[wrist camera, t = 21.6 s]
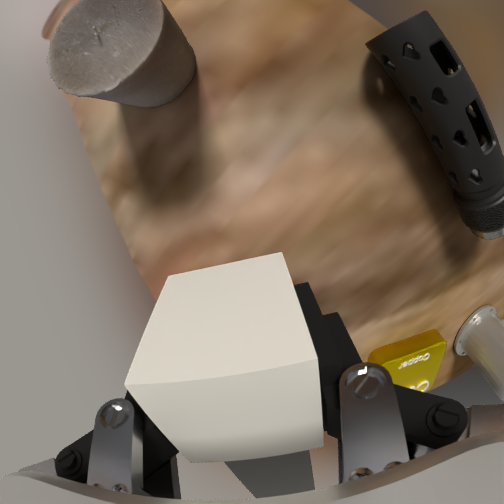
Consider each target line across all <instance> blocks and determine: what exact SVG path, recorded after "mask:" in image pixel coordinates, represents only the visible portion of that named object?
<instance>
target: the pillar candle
mask: <svg viewBox="0 0 504 504" xmlns="http://www.w3.org/2000/svg"><path fill="white" fill-rule="evenodd" d="M47 64H48V73H49V75H51V78H52V79H53V81H54V82H55V83H56V85H57V87H58V89H60V88H61V89H62V90H63V91H64V92H65V93H67V94H72V95H76V96H78V97H81V96H83V97H92V98H97V99H103V100H108V101H113V102H118V103H122V104H128V105H132V106H137V107H145V108H149V107H156V106H161V105H164V104H166V103H168V102H171V101H172V100H174V99H175V98H176V97H178V96H179V95H180V94H181V93H182V92H183V91H184V90H185V89H186V87H187V86H188V84H189V83H190V82H191V80H192V77H193V75H194V72H195V66H196V59H195V54H194V51H193V49H192V47H191V46H190V45H189V43H188V41H187V39H186V37H185V36H184V34H183V32H182V30H181V29H180V27H179V26H178V24H177V23H176V21H175V20H174V18H173V17H172V15H171V13H170V12H169V10H168V9H167V7H166V6H165V4H164V3H163V2H162V0H80V1H78V2H77V3H76V4H75V5H74V6H73V7H72V8H71V9H70V10H69V11H68V12H67V13H66V14H65V16H64V17H63V19H62V20H61V22H60V23H59V25H58V27H57V28H56V30H55V33H54V35H53V37H52V40H51V42H50V47H49V52H48V56H47Z"/></svg>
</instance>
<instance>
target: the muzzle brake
mask: <svg viewBox="0 0 504 504" xmlns="http://www.w3.org/2000/svg"><path fill="white" fill-rule="evenodd" d="M407 44H409V45H411V46H412V48H413V49H411V48H408V47H407ZM365 45H366V46H367V48H368V49H369V50H370V51H371V52H372V54H373V55H374V56H375V58H376V59H377V60H378V61H379V63H380V64H381V65H382V67H383V68H384V69H385V71H386V72H387V73H388V75H389V76H390V78H391V79H392V80H393V82H394V83H395V85H396V86H397V88H398V89H399V91H400V92H401V94H402V95H403V97H404V98H405V100H406V101H407V103H408V104H409V106H410V108H411V109H412V111H413V113H414V114H415V116H416V118H417V119H418V121H419V123H420V124H421V126H422V128H423V130H424V132H425V133H426V135H427V137H428V139H429V141H430V143H431V145H432V147H433V149H434V151H435V153H436V155H437V157H438V159H439V161H440V163H441V165H442V167H443V169H444V171H445V174H446V176H447V178H448V180H449V183H450V184H451V186H452V187H453V188H454V200H455V202H456V205H457V207H458V210H459V213H460V215H461V218H462V220H463V222H464V223H465V225H466V226H468V227H469V228H470V230H471V231H472V233H473V234H474V235H476V236H477V237H479V238H482V239H496V238H499V237H502V236H504V156H503V154H502V151H501V148H500V145H499V141H498V138H497V136H496V133H495V130H494V128H493V125H492V123H491V120H490V119H489V116H488V114H487V112H486V109H485V107H484V104H483V102H482V100H481V98H480V95H479V93H478V91H477V89H476V87H475V85H474V83H473V82H472V80H471V78H470V76H469V75H468V73H467V71H466V69H465V67H464V65H463V63H462V61H461V60H460V58H459V56H458V55H457V53H456V51H455V50H454V48H453V47H452V45H451V44H450V42H449V41H448V40H447V38H446V37H445V35H444V34H443V32H442V31H441V29H440V28H439V27H438V25H437V23H436V22H435V21H434V19H433V18H432V17H431V15H430V14H429V13H428V11H426V10H425V11H423V12H421V13H419V14H417V15H415V16H413V17H411V18H409V19H407V20H405V21H403V22H401V23H400V24H398V25H396V26H394V27H392V28H391V29H389V30H387V31H385V32H383V33H382V34H380V35H378V36H377V37H375V38H373V39H372V40H370V41H368V42H367V43H365ZM451 69H452V70H453V72H454V73H453V74H451V73H450V72H451ZM469 105H471V106H472V108H473V110H471V109H470V108H469Z"/></svg>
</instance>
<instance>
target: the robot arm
mask: <svg viewBox="0 0 504 504" xmlns="http://www.w3.org/2000/svg"><path fill="white" fill-rule="evenodd" d="M293 286H294V289H295V292H296V295H297V298H298V300H299V303H300V306H301V309H302V312H303V315H304V318H305V321H306V324H307V327H308V330H309V333H310V336H311V339H312V342H313V345H314V348H315V352H316V355H317V358H318V367H319V378H320V391H321V405H322V420H323V428H324V431H327V433H328V435H331V436H333V437H335V438H337V439H338V459H339V460H338V461H339V484H338V485H334V486H330V487H326V488H321V489H317V490H311V491H306V492H301V493H295V494H289V495H282V496H274V497H265V498H255V499H244V500H243V499H242V500H213V501H212V500H209V501H208V500H206V501H205V500H181V493H180V485H179V477H178V467H177V458H176V454H177V453H179V450H178V449H177V448H176V447H175V446H174V445H173V444H172V443H171V442H170V441H169V440H168V438H167V437H166V436H165V435H164V434H163V433H162V432H161V431H160V429H159V428H158V427H157V426H156V425H155V424H154V423H153V421H152V420H151V419H150V418H149V417H148V415H147V414H146V413H145V412H144V410H143V409H142V408H141V407H140V405H139V404H138V403H137V402H136V400H135V399H134V398H133V396H132V395H131V394H130V392H129V391H128V390H127V393H126V396H125V399H123V398H117V399H113V400H110V401H108V402H107V403H105V404H104V405H103V406H102V407H101V408H100V409H99V411H98V412H97V415H96V419H95V425H94V430H92V431H91V432H89V433H88V434H86V435H85V436H83V437H81V438H80V439H78V440H77V441H75V442H74V443H72V444H71V445H69V446H68V447H66V448H64V449H63V450H62V451H61V452H60V453H59V454H58V456H57V458H56V459H55V458H52V459H49V460H46V461H43V462H40V463H37V464H34V465H31V466H28V467H25V468H22V469H21V470H19V472H15V473H11V474H8V475H6V476H4V477H3V478H2V479H1V480H0V504H504V404H477V405H476V404H475V405H474V404H472V405H471V407H470V408H466V407H464V406H463V405H462V404H460V403H459V402H457V401H455V400H453V399H449V398H444V397H440V396H437V395H433V394H429V393H425V392H422V391H418V390H414V389H411V388H407V387H404V386H400V385H397V384H393V381H392V377H391V375H390V373H389V371H388V370H387V369H386V368H385V367H383V366H381V365H379V364H376V363H371V362H365V363H363V362H362V360H361V358H360V356H359V354H358V352H357V350H356V348H355V346H354V344H353V342H352V340H351V338H350V336H349V334H348V332H347V330H346V328H345V326H344V324H343V322H342V320H341V318H340V316H339V314H338V313H337V312H335V313H331V314H327V315H322V313H321V311H320V308H319V306H318V304H317V301H316V299H315V297H314V294H313V292H312V290H311V288H310V285H309V283H308V282H306V283H301V284H297V285H293ZM454 349H455V351H456V353H457V354H458V355H461V356H463V355H468V356H469V357H470V359H471V360H472V361H473V362H474V364H475V365H476V366H477V368H478V369H479V370H480V372H481V373H482V374H483V375H484V377H485V378H486V380H487V381H488V382H489V384H490V385H491V386H492V388H493V389H494V391H495V392H496V393H497V395H498V396H499V398H500V399H501V400H502V401H504V318H502V319H501V320H500V319H499V318H498V317H497V312H496V309H495V308H494V307H493V306H491V305H485V306H482V307H480V308H479V309H477V310H476V311H475V312H474V313H473V314H472V315H471V316H470V317H469V318H468V319H467V320H466V321H465V323H464V324H463V326H462V327H461V329H460V330H459V332H458V334H457V336H456V339H455V343H454Z"/></svg>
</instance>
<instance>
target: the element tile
mask: <svg viewBox="0 0 504 504" xmlns="http://www.w3.org/2000/svg"><path fill="white" fill-rule="evenodd" d="M446 347H447V343H446V341H445V340H444V339H443V337H442V336H441V335H440V334H439V332H438V331H437V330H436V329H432V330H429V331H426V332H423V333H421V334H418V335H415V336H412V337H410V338H407V339H404V340H401V341H398V342H395V343H392V344H389V345H385V346H382V347H379V348H377V349H375V350H374V351H373V352H372V353H371V354H370V355H369V357H368V362H371V363H376V364H379V365H381V366H383V367H385V368H386V369H387V370H388V371H389V373H390V375H391V377H392V381H393V384H397V385H400V386H404V387H407V388H411V389H414V390H418V391H422V392H426V391H428V390H429V389H430V388H431V387H432V385H433V383H434V381H435V378H436V375H437V373H438V370H439V367H440V365H441V362H442V359H443V356H444V353H445V350H446Z"/></svg>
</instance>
